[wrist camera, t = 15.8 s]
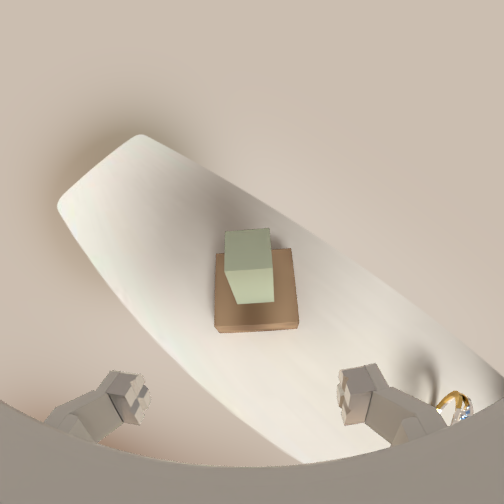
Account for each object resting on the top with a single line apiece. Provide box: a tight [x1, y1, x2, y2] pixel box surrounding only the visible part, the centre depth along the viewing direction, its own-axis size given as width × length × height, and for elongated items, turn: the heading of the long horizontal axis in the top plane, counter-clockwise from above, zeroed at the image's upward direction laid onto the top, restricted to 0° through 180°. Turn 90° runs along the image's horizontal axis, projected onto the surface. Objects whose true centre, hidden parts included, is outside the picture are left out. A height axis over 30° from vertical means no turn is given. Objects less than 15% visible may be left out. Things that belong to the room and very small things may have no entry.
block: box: [224, 228, 274, 304], centre depth 27 cm, size 4×4×8 cm
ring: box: [436, 391, 473, 426], centre depth 19 cm, size 7×3×8 cm, turn 143°
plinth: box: [214, 248, 299, 333], centre depth 32 cm, size 9×9×3 cm
